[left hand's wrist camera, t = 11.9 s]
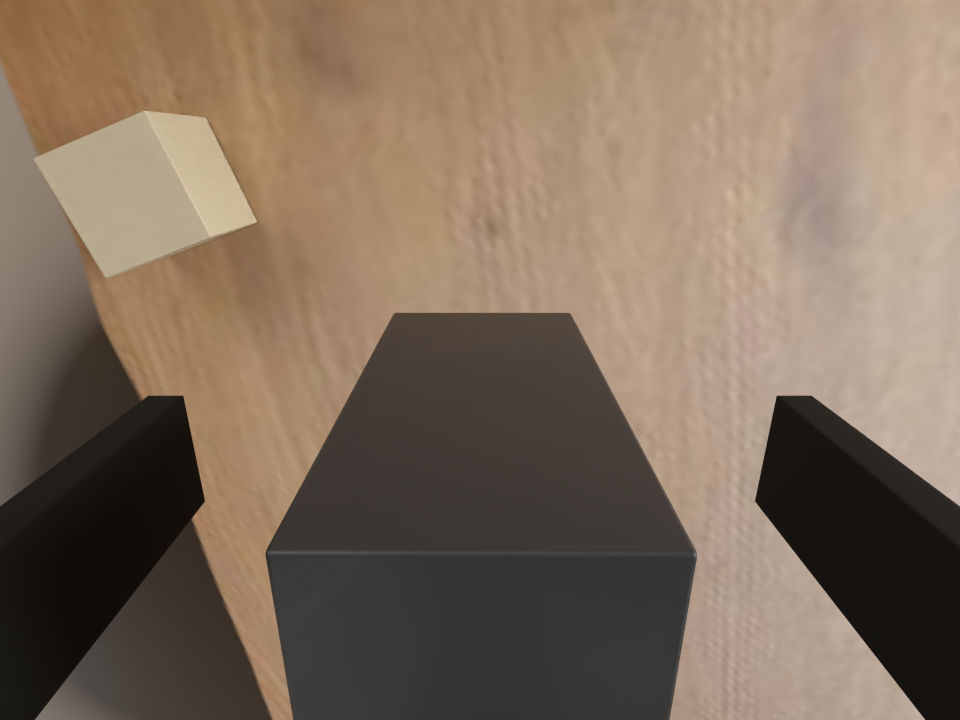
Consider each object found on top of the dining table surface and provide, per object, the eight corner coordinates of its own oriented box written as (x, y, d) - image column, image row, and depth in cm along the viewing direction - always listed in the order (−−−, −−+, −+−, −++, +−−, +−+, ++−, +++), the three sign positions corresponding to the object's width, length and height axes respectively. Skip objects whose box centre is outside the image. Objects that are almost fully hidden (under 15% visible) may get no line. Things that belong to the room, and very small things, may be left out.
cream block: (111, 156, 26) (31, 158, 21) (205, 117, 26) (144, 109, 21) (168, 257, 28) (105, 279, 23) (257, 222, 27) (211, 237, 22)
